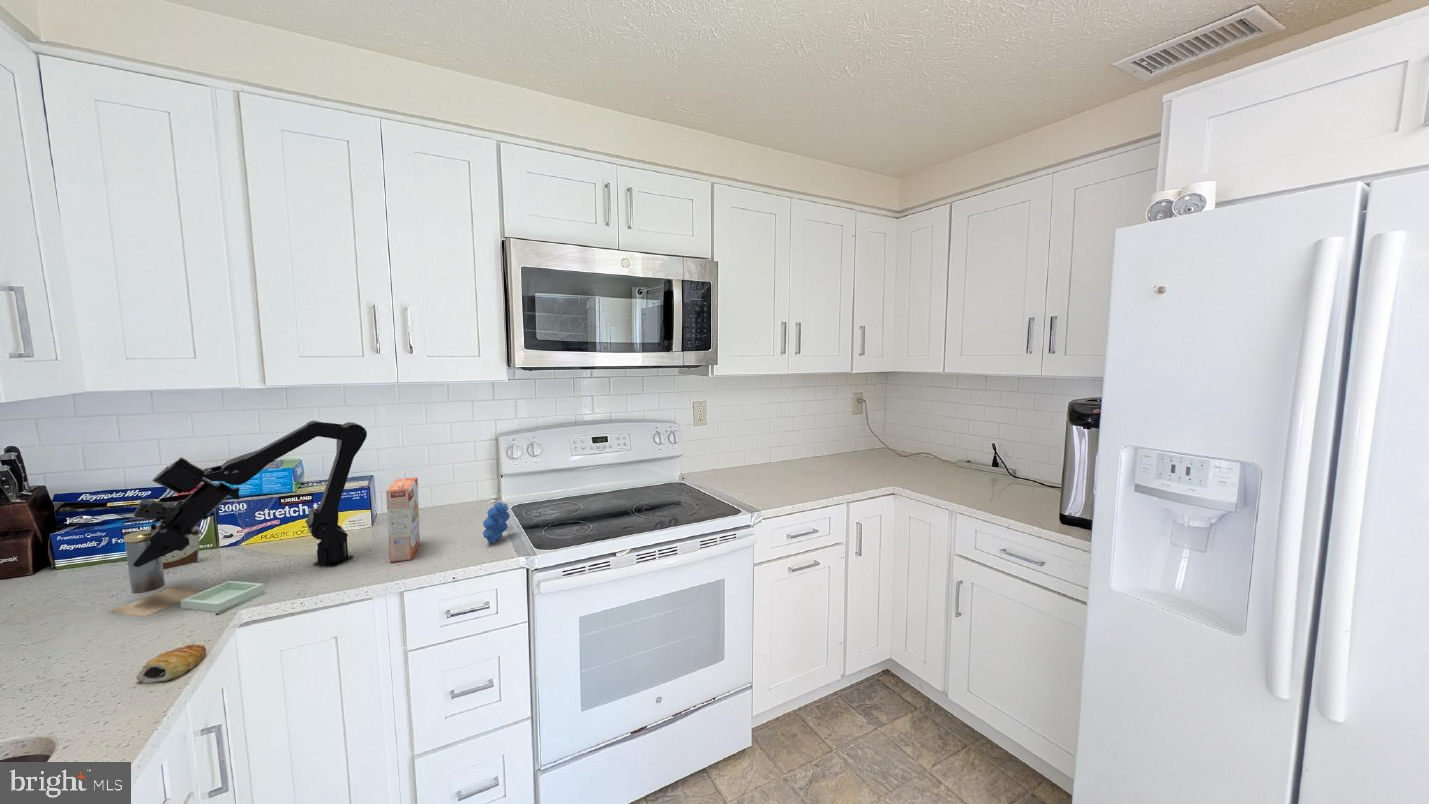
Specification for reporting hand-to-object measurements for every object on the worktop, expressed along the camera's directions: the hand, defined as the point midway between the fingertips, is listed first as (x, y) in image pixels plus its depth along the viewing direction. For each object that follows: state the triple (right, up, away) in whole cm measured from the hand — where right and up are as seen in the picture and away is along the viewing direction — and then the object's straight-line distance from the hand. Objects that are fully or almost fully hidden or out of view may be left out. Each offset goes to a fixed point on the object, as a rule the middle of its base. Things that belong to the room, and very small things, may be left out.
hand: (136, 562), depth 115 cm
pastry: (+31, -14, -21) cm, 40 cm away
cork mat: (+2, -10, +3) cm, 11 cm away
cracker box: (+41, -8, +33) cm, 54 cm away
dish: (+16, -11, +4) cm, 20 cm away
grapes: (+63, -7, +43) cm, 77 cm away
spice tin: (+1, -6, +2) cm, 7 cm away
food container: (-16, -8, +23) cm, 29 cm away
